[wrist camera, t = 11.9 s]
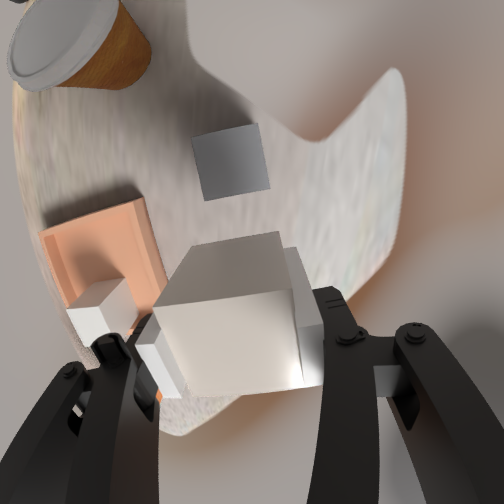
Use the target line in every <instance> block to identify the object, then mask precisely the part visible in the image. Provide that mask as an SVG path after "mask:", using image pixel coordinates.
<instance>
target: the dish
mask: <svg viewBox="0 0 504 504" xmlns="http://www.w3.org/2000/svg"><path fill="white" fill-rule="evenodd" d="M38 235H39V238H40V241H41V244H42V247H43V250H44V253H45V256H46V259H47V262H48V264H49V267H50V270H51V272H52V275H53V278H54V280H55V283H56V285H57V287H58V290H59V292H60V294H61V297H62V299H63V301H64V303H65V306H66V308H68V307H69V306H70V305H71V304H72V303H73V302H74V301H75V300H76V299H77V298H78V297H79V296H80V295H81V294H82V293H83V292H84V291H85V290H86V289H87V288H89V287H90V286H91V285H92V284H93V283H94V282H100V281H106V280H112V279H119V278H126V280H127V283H128V286H129V288H130V291H131V294H132V296H133V299H134V301H135V304H136V306H137V309H138V311H139V316H138V317H137V319H136V320H135V322H134V323H133V325H132V326H131V328H130V329H129V331H128V332H127V334H126V335H131V334H132V332H133V331H134V329H136V326H137V324H138V322H139V321H140V320H141V319H142V318H143V317H144V316H145V315H147V314H149V313H153V312H154V311H153V309H152V307H153V305H154V304H155V302H156V300H157V299H158V297H159V296H160V294H161V293H162V291H163V289H164V288H165V286H166V285H167V283H168V279H167V276H166V273H165V270H164V267H163V263H162V260H161V257H160V254H159V250H158V247H157V244H156V240H155V237H154V233H153V230H152V226H151V222H150V219H149V215H148V211H147V207H146V203H145V199H144V197H141V198H138V199H134V200H131V201H127V202H124V203H120V204H117V205H114V206H110V207H107V208H104V209H101V210H98V211H94V212H91V213H88V214H85V215H82V216H79V217H76V218H73V219H70V220H67V221H65V222H62V223H59V224H56V225H53V226H51V227H49V228H47V229H45V230H43V231H41V232H38Z"/></svg>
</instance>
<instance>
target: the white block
mask: <svg viewBox="0 0 504 504" xmlns="http://www.w3.org/2000/svg"><path fill="white" fill-rule="evenodd" d="M66 311H67V313H68V315H69V317H70V319H71V321H72V323H73V325H74V327H75V329H76V331H77V333H78V335H79V337H80V339H81V341H82V342H83V344H84V346H85V347H90V346H91V344H92V343H93V341H95V340H96V339H97V338H98V337H100V336H102V335H104V334H107V333H114V332H116V333H119V334H120V335H121V336H122V338H123V339H124V337H125V335H126V334H127V332H128V331H129V329H130V328H131V326H132V325H133V323H134V322H135V320H136V319H137V317H138V316H139V311H138V309H137V306H136V304H135V301H134V299H133V296H132V294H131V291H130V288H129V286H128V283H127V280H126V278H119V279H112V280H106V281H100V282H94V283H93V284H92V285H91V286H90V287H89V288H87V289H86V290H85V291H84V292H83V293H82V294H81V295H80V296H79V297H78V298H77V299H76V300H75V301H74V302H73V303H72V304H71V305H70V306H69V307H68V308H67V309H66Z"/></svg>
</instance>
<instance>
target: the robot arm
mask: <svg viewBox="0 0 504 504" xmlns="http://www.w3.org/2000/svg"><path fill="white" fill-rule="evenodd" d="M10 1H13V2H15V3H24V2H26V1H28V0H10ZM283 251H284V255H285V259H286V263H287V268H288V272H289V276H290V281H291V285H292V290H293V298H294V305H295V312H294V313H295V320H296V328H297V336H298V344H299V352H300V360H301V369H302V376H303V382H304V388H306V387H311V386H317V385H323V394H322V404H321V413H320V422H319V430H318V438H317V446H316V453H315V460H314V466H313V472H312V478H311V483H310V489H309V494H308V499H307V504H378V499H379V467H380V465H379V464H380V460H379V426H378V425H379V424H378V409H377V397H386V398H387V401H388V403H389V406H390V408H391V410H392V413H393V415H394V417H395V420H396V422H397V425H398V427H399V429H400V432H401V434H402V437H403V439H404V442H405V444H406V447H407V450H408V452H409V455H410V457H411V460H412V463H413V465H414V468H415V471H416V474H417V477H418V479H419V482H420V484H421V488H422V491H423V494H424V497H425V500H426V503H427V504H504V429H503V427H502V426H501V424H500V422H499V421H498V419H497V417H496V416H495V414H494V413H493V411H492V409H491V408H490V406H489V405H488V403H487V402H486V400H485V399H484V397H483V396H482V394H481V393H480V391H479V390H478V389H477V387H476V386H475V384H474V383H473V381H472V380H471V379H470V377H469V376H468V375H467V373H466V372H465V370H464V369H463V368H462V366H461V365H460V364H459V362H458V361H457V360H456V358H455V357H454V356H453V355H452V353H451V352H450V350H449V349H448V348H447V347H446V345H445V344H444V343H443V342H442V340H441V339H440V338H439V337H438V335H437V334H436V333H435V332H434V330H432V329H431V328H430V327H429V326H427V325H424V324H422V323H415V322H414V323H408V324H405V325H403V326H400V327H399V329H398V330H397V331H396V334H395V337H376V336H371V335H369V334H368V332H367V330H365V329H364V328H362V327H360V326H358V325H357V323H356V321H355V319H354V317H353V315H352V313H351V311H350V310H349V308H348V306H347V304H346V302H345V300H344V298H343V296H342V294H341V292H340V291H339V290H337V289H336V288H334V287H333V286H329V287H324V288H319V289H313V290H312V289H311V286H310V283H309V280H308V278H307V275H306V272H305V269H304V267H303V264H302V261H301V259H300V256H299V253H298V251H297V248H296V247H291V248H285V249H283ZM90 347H91V348H92V350H93V352H94V354H95V355H96V357H97V359H98V360H99V362H100V367H99V368H96V369H91V370H86V368H85V367H84V365H83V364H82V363H81V362H78V361H75V362H70V363H67V364H66V365H65V366H63V367H62V368H61V369H60V370H59V372H58V373H57V375H56V376H55V377H54V379H53V380H52V381H51V383H50V384H49V386H48V387H47V389H46V390H45V391H44V393H43V394H42V396H41V397H40V399H39V400H38V402H37V403H36V404H35V406H34V408H33V409H32V411H31V412H30V414H29V415H28V417H27V418H26V420H25V421H24V423H23V424H22V426H21V428H20V429H19V431H18V432H17V434H16V436H15V437H14V439H13V441H12V443H11V444H10V446H9V448H8V449H7V451H6V453H5V455H4V456H3V458H2V460H1V462H0V504H159V485H158V484H159V482H158V442H159V414H160V404H159V401H158V399H157V398H156V394H157V391H158V389H159V390H160V392H161V394H162V395H163V397H164V398H182V397H183V393H184V390H185V386H186V381H185V379H184V377H183V375H182V373H181V370H180V368H179V366H178V364H177V362H176V360H175V358H174V356H173V353H172V351H171V349H170V347H169V345H168V342H167V340H166V338H165V335H164V333H163V331H162V329H161V328H160V326H159V323H158V321H157V319H156V316H155V314H154V312H153V313H149V314H147V315H145V316H144V317H143V318H142V319H141V320H140V321H139V322H138V324H137V326H136V329H134V331H133V332H132V334H131V335H130V337H129V339H128V340H127V342H126V344H125V342H124V340H123V338H122V336H121V335H120V334H119V333H116V332H114V333H107V334H104V335H102V336H100V337H98V338H97V339H96V340H95V341H93V343H92V344H91V346H90ZM75 404H76V405H77V407H78V408H79V409H80V410H81V412H82V413H83V414H82V415H81V416H80V417H78V416H77V415H76V413H75V412H74V411H73V410H72V409H73V407H74V405H75Z"/></svg>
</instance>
